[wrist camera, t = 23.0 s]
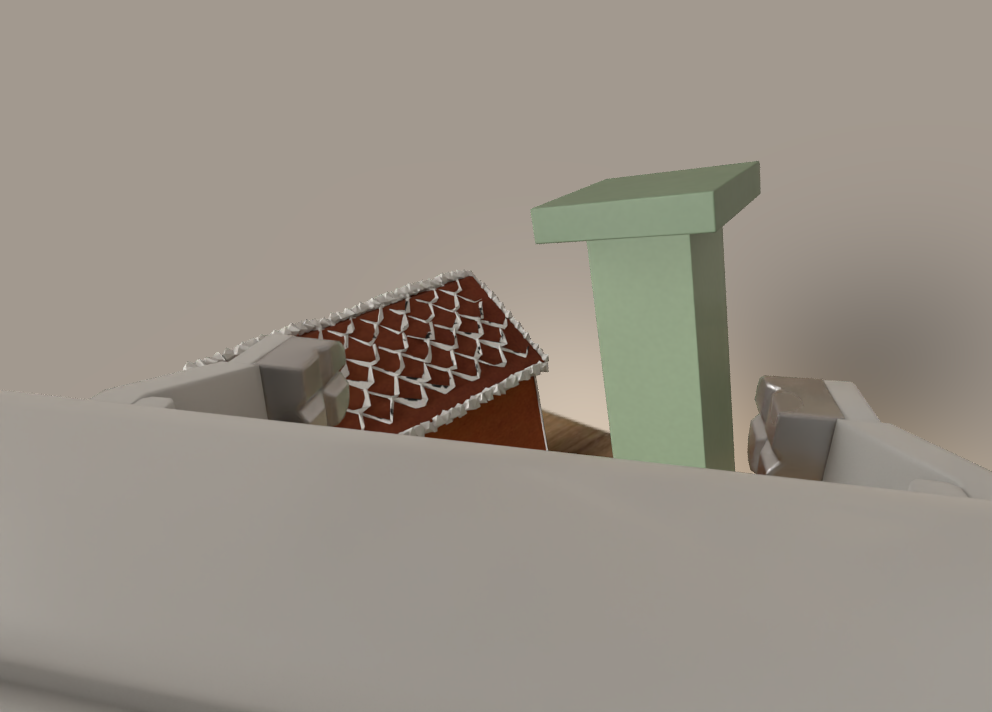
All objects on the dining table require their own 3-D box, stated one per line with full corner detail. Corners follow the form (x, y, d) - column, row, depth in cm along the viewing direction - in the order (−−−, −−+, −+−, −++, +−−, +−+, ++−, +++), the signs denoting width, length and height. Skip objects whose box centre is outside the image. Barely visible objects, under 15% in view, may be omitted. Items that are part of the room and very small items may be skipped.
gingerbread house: (578, 484, 56) (545, 264, 50) (319, 673, 41) (223, 387, 34) (448, 437, 70) (409, 258, 63) (215, 565, 54) (132, 346, 48)
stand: (586, 587, 44) (529, 208, 35) (640, 501, 52) (605, 179, 44) (737, 627, 38) (714, 190, 30) (771, 523, 47) (759, 160, 38)
